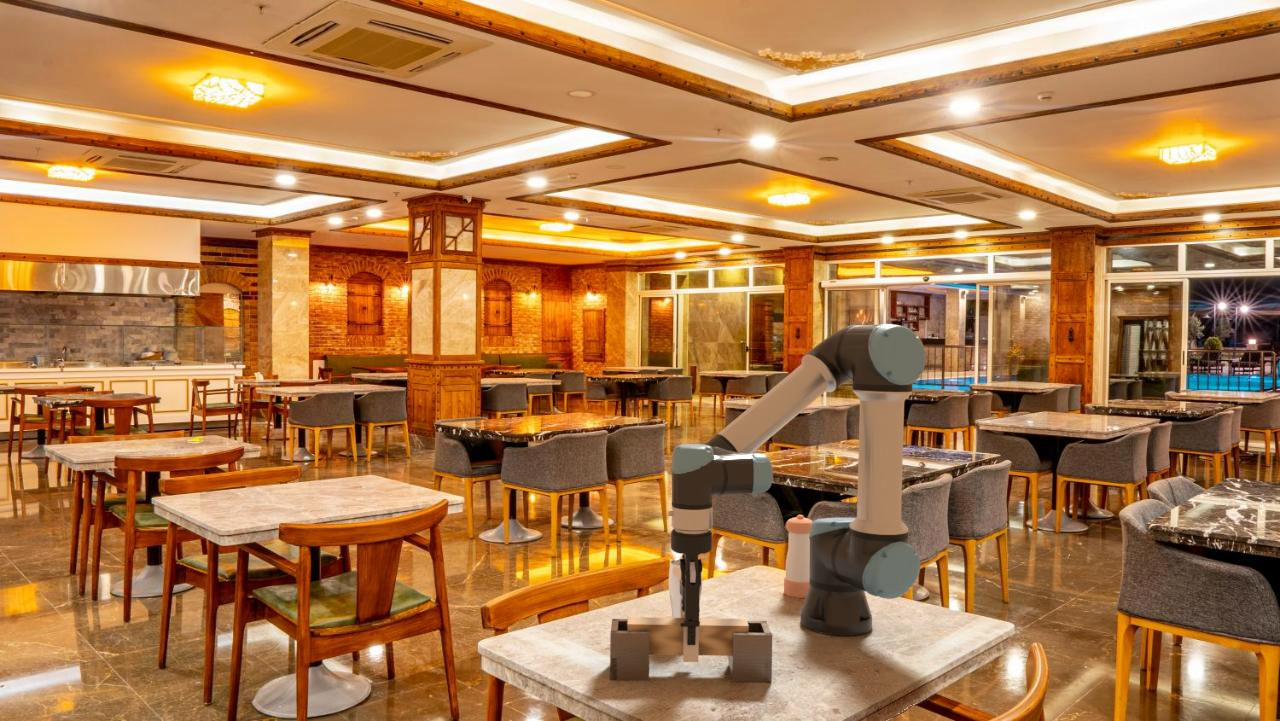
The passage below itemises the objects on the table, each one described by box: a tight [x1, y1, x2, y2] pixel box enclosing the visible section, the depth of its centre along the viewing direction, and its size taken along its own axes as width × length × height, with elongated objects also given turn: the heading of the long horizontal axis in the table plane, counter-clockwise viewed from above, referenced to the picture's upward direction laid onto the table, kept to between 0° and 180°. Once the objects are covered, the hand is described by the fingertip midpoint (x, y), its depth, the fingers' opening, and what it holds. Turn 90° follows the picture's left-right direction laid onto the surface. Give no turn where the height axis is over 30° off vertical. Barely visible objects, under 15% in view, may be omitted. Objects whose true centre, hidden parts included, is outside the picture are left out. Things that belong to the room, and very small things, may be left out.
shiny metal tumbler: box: [668, 557, 703, 618], centre depth 182 cm, size 7×7×15 cm
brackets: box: [609, 618, 773, 683], centre depth 161 cm, size 29×8×8 cm, turn 89°
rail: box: [627, 616, 749, 657], centre depth 161 cm, size 22×4×6 cm, turn 90°
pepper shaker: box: [783, 514, 814, 599], centre depth 212 cm, size 7×7×19 cm
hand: (689, 654), depth 161 cm, fingers open, 6 cm apart
